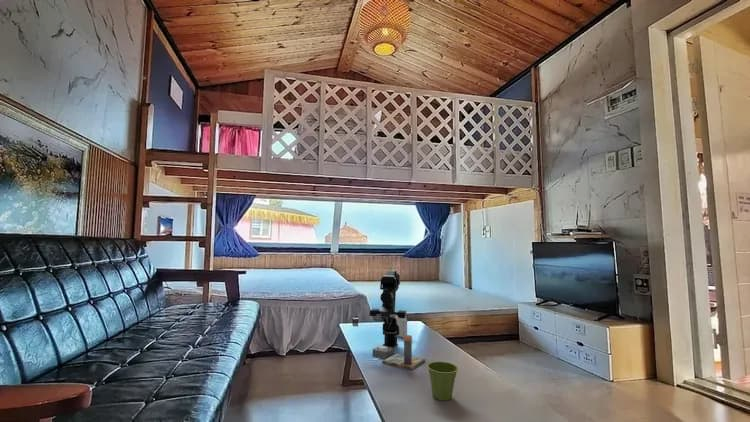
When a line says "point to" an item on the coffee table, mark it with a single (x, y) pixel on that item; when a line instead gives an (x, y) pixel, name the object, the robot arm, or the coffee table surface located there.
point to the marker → (407, 349)
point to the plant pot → (442, 379)
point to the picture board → (399, 361)
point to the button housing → (383, 352)
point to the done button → (383, 348)
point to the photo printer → (402, 326)
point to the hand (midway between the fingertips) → (387, 330)
